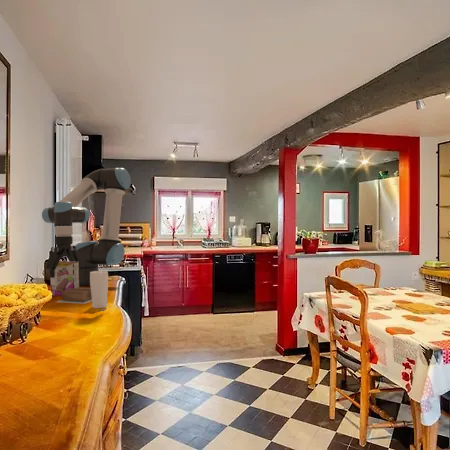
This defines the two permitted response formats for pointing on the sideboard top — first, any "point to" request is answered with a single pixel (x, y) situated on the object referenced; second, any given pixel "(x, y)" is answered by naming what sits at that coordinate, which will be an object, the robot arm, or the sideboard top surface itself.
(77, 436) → the sideboard top surface
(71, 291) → the walnut block
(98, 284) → the drinking glass
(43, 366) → the sideboard top surface
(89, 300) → the board
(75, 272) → the candy bar box
